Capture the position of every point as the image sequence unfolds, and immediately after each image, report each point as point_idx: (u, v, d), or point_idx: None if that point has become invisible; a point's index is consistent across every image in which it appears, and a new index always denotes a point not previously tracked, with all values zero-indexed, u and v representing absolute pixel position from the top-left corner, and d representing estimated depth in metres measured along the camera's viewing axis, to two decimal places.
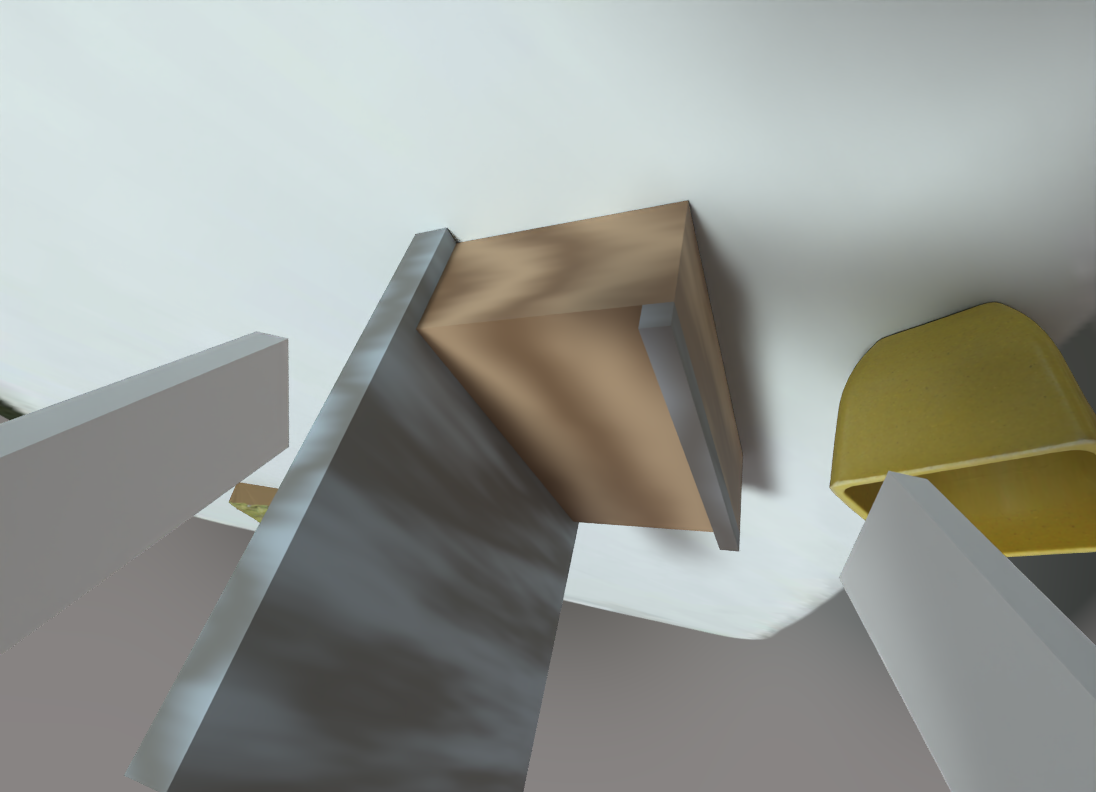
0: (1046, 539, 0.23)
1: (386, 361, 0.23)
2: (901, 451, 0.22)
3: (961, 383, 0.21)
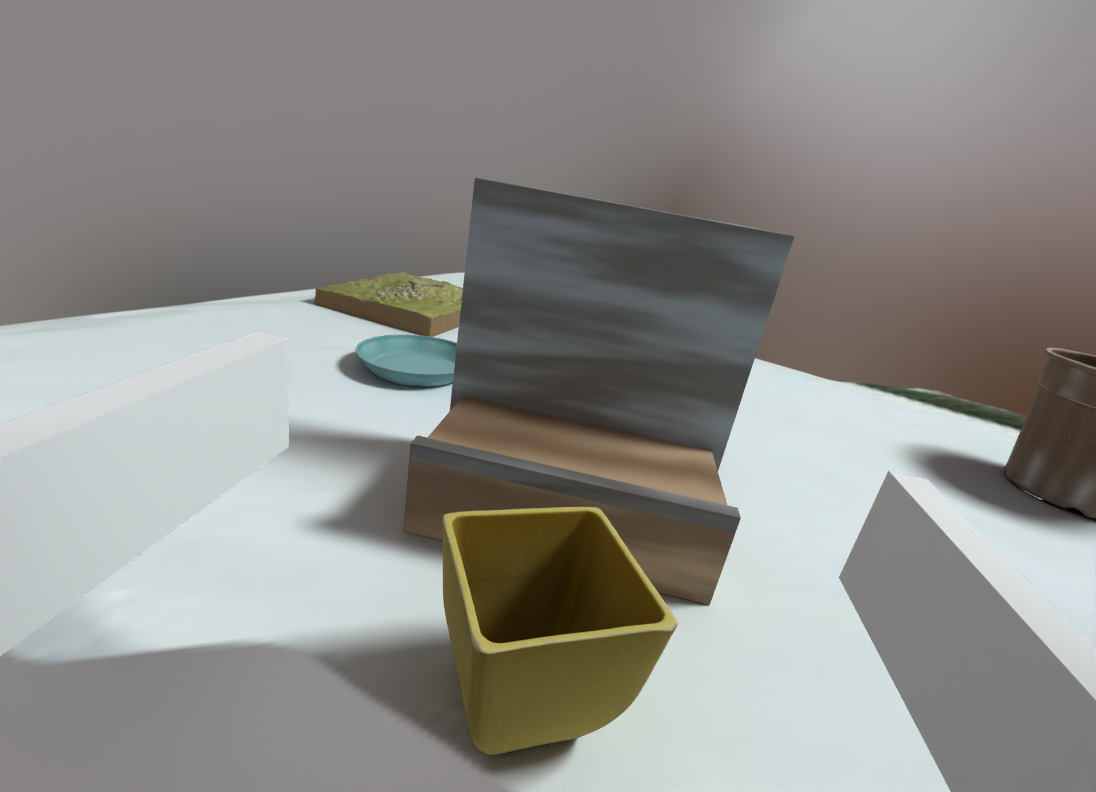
0: None
1: (728, 426, 0.45)
2: None
3: None
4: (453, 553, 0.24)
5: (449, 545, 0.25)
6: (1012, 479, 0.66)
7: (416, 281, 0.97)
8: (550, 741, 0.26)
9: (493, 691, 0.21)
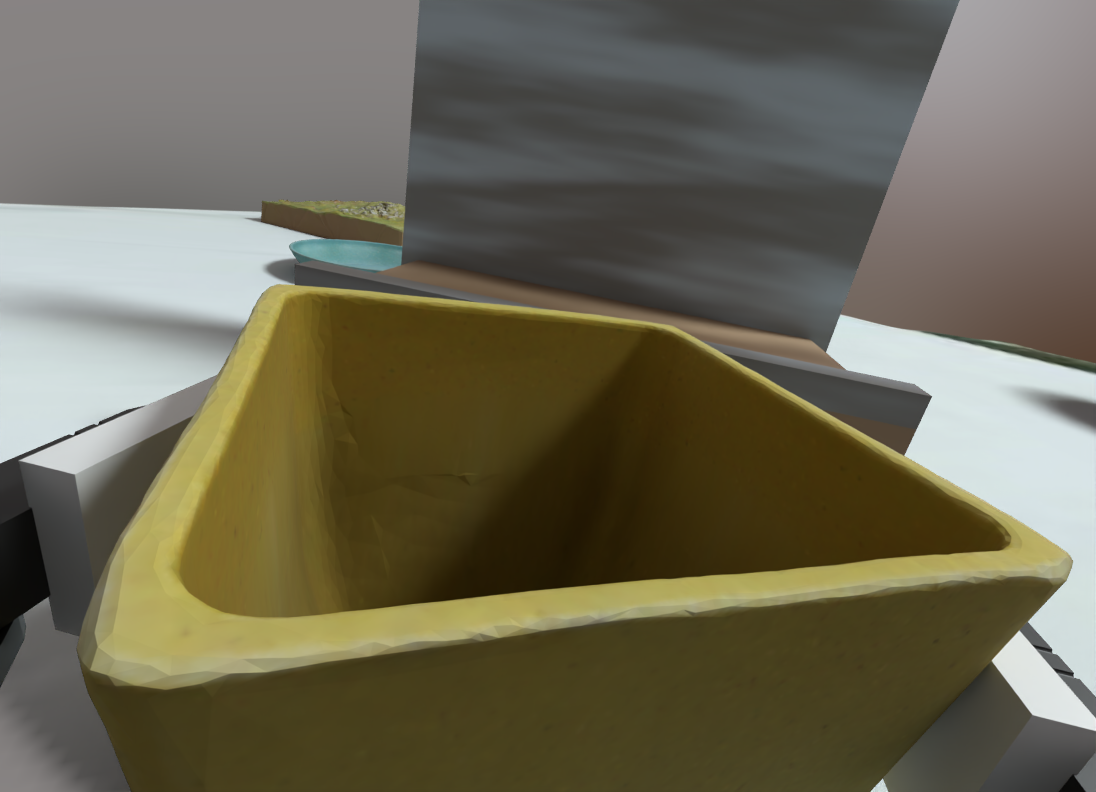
0: (248, 440, 0.06)
1: (840, 296, 0.28)
2: None
3: None
4: (244, 332, 0.07)
5: None
6: None
7: None
8: None
9: None
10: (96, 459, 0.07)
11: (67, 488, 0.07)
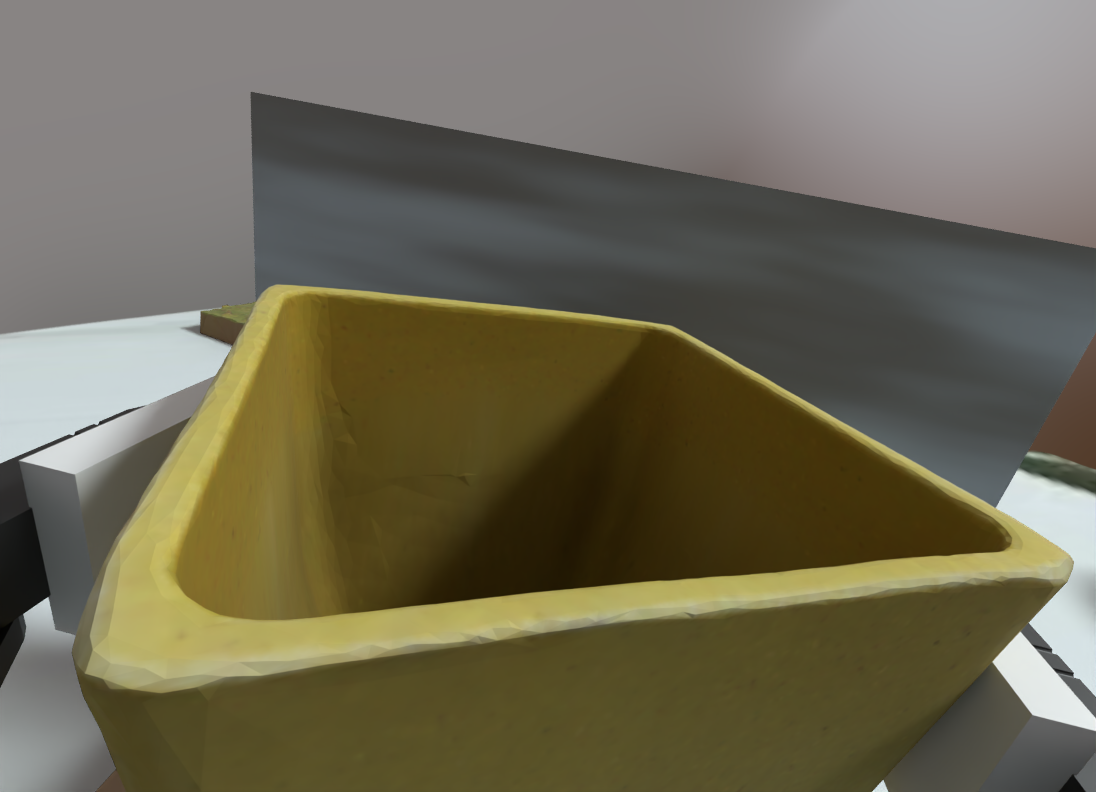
0: (246, 442, 0.06)
1: None
2: None
3: None
4: (242, 333, 0.07)
5: None
6: None
7: None
8: None
9: None
10: (96, 459, 0.07)
11: (67, 488, 0.07)
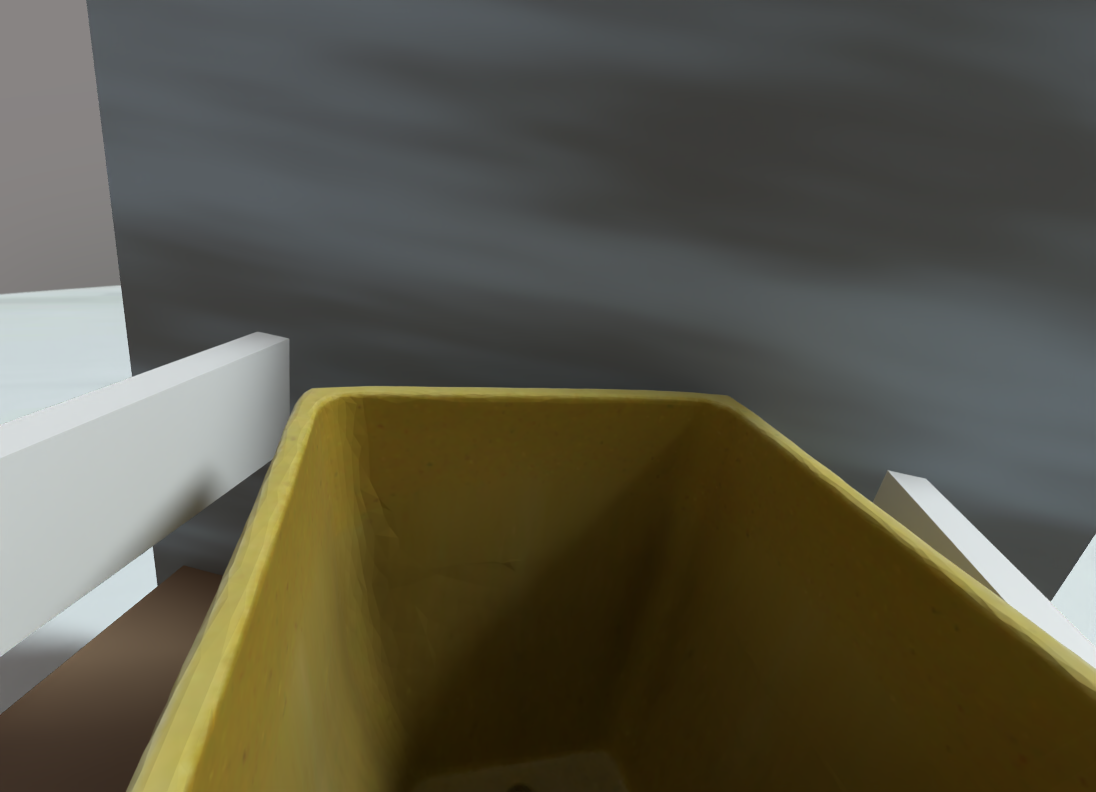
0: (263, 630, 0.05)
1: None
2: None
3: None
4: (268, 477, 0.07)
5: None
6: None
7: None
8: None
9: None
10: None
11: None
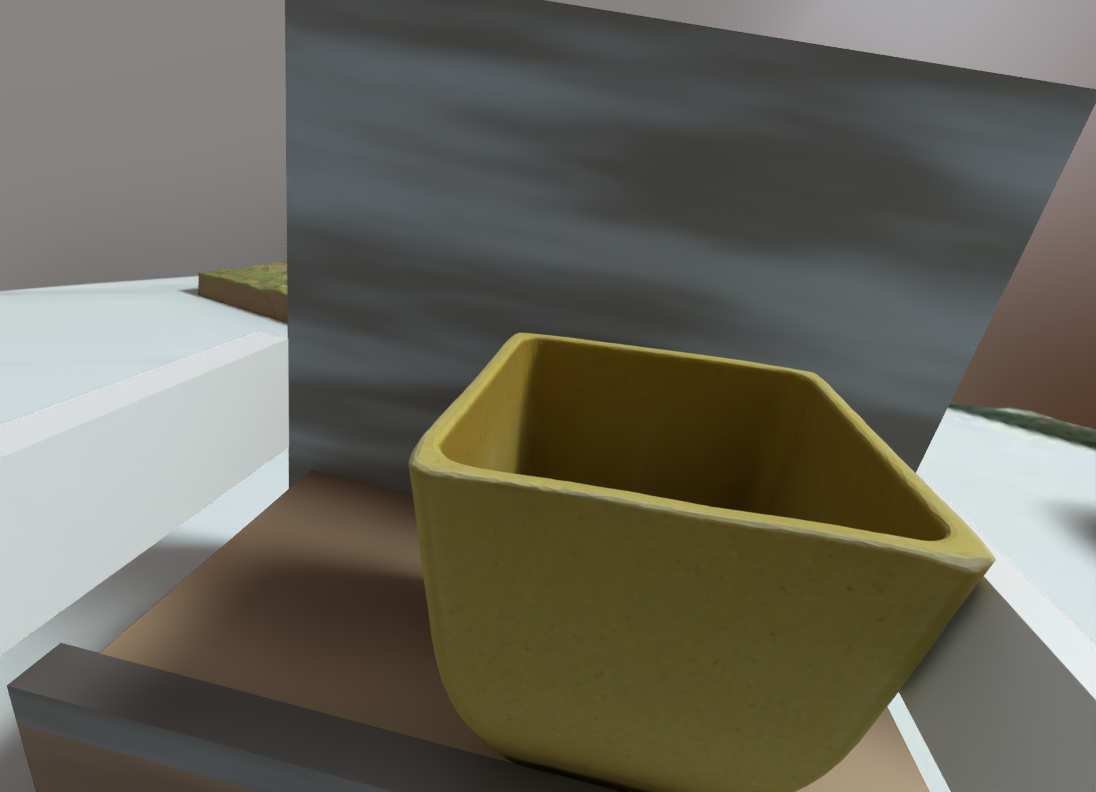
0: (481, 413, 0.12)
1: None
2: None
3: None
4: (491, 360, 0.13)
5: None
6: None
7: None
8: (635, 787, 0.12)
9: (458, 589, 0.09)
10: None
11: None
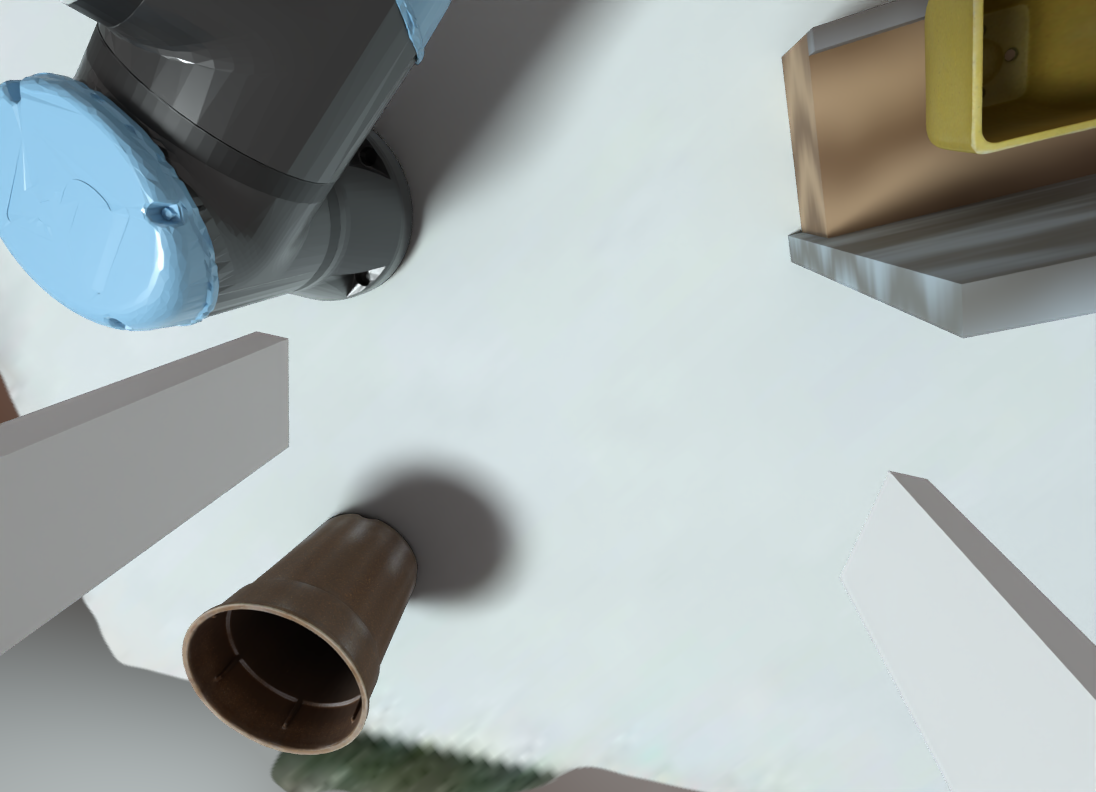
0: None
1: (828, 244, 0.33)
2: (963, 88, 0.25)
3: (940, 45, 0.27)
4: None
5: None
6: (414, 557, 0.57)
7: None
8: None
9: None
10: None
11: None
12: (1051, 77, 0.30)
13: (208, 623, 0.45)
